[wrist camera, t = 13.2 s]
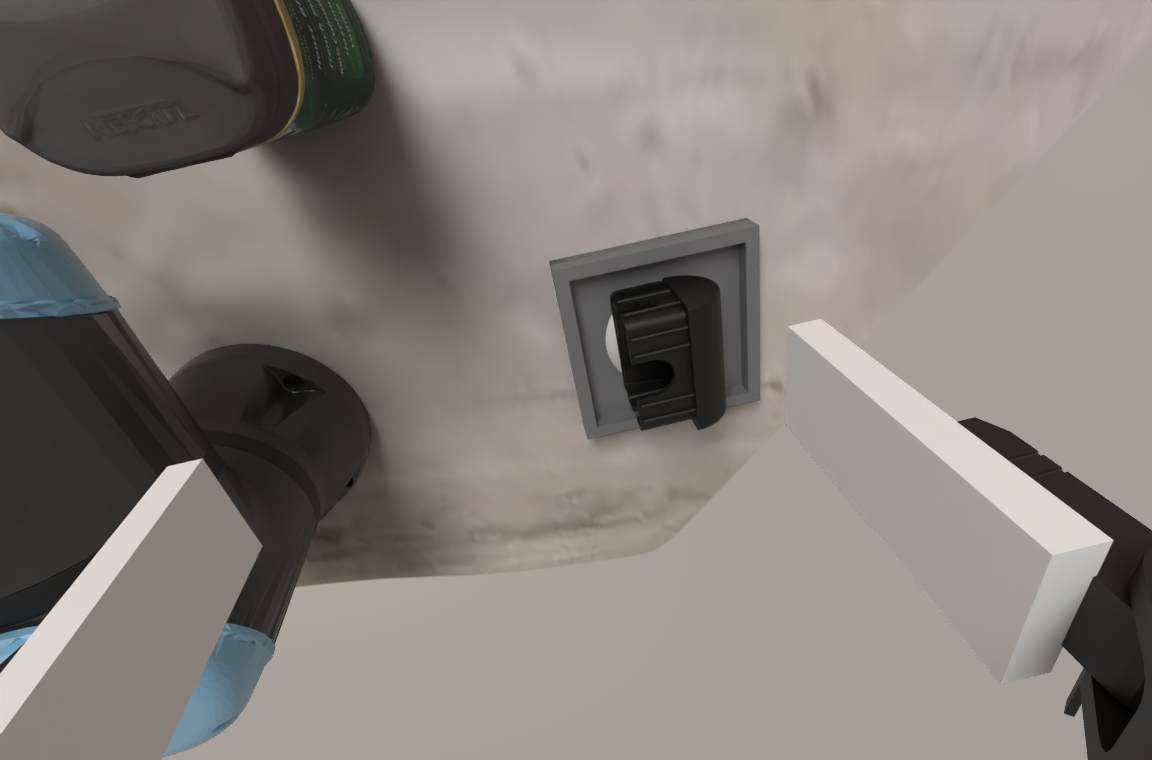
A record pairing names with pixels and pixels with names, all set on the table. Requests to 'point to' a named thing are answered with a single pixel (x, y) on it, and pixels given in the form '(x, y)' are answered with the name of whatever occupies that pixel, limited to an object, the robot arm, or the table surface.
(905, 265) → the table surface
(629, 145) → the table surface
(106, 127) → the coffee jar
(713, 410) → the end cap
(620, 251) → the grey square tray
